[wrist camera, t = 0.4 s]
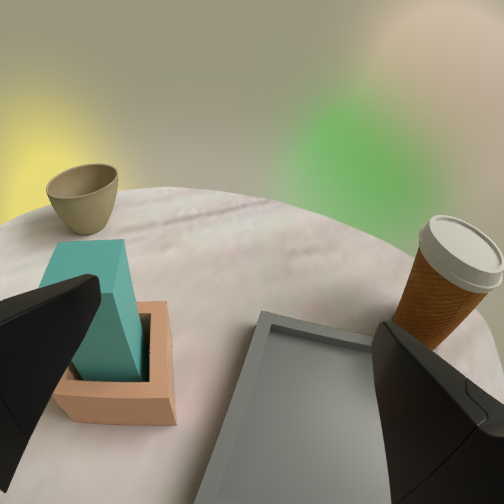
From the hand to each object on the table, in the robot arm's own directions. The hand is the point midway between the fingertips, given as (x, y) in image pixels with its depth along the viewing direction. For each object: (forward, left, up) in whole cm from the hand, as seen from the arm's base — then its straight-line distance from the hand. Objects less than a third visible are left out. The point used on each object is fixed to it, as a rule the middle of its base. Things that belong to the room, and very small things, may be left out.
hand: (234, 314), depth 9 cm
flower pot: (+21, +27, -16) cm, 38 cm away
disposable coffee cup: (+17, -16, -16) cm, 29 cm away
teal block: (+3, +10, -16) cm, 19 cm away
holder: (+3, +10, -16) cm, 19 cm away
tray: (+4, -7, -16) cm, 18 cm away
